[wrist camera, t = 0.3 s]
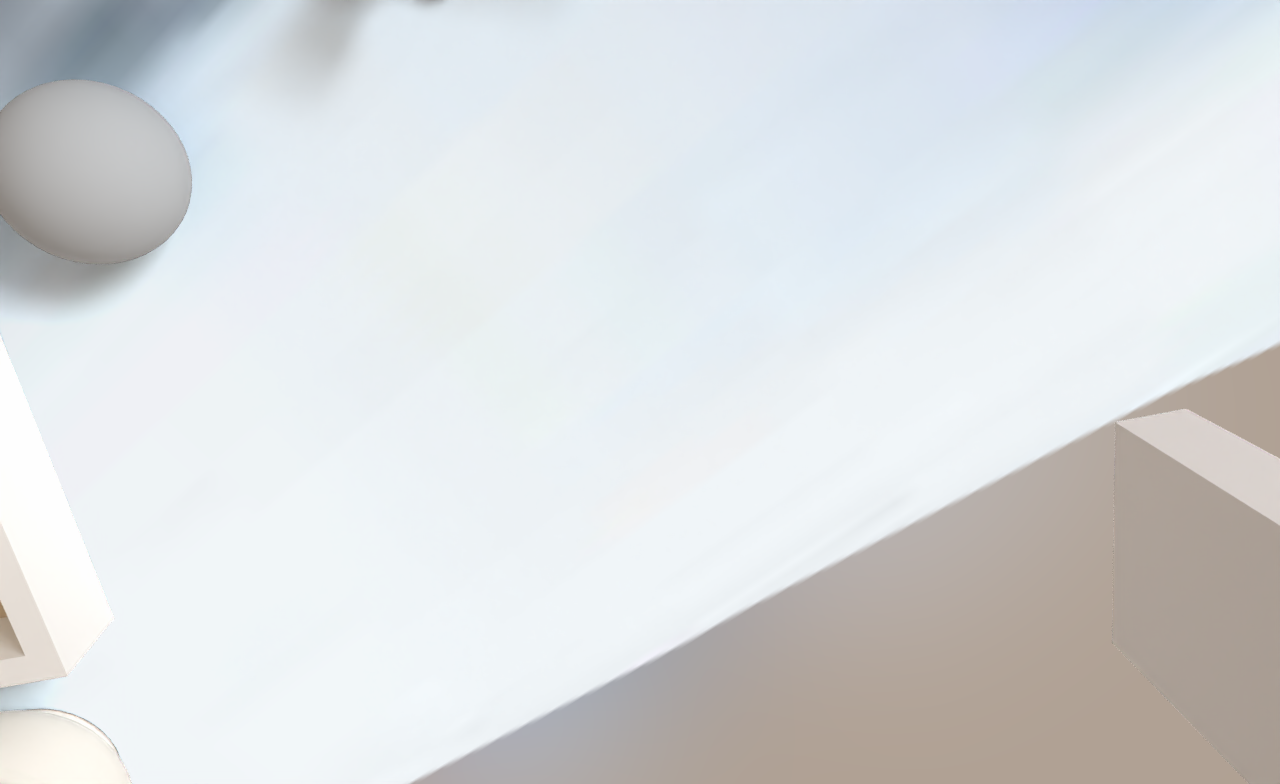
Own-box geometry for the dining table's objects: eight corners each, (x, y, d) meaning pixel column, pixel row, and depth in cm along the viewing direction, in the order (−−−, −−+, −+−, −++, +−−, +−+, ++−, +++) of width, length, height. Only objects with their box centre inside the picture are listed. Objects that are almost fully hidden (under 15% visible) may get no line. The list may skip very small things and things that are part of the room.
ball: (18, 92, 32) (-96, 97, 27) (187, 66, 33) (110, 65, 27) (78, 258, 34) (-16, 295, 29) (237, 233, 35) (175, 264, 29)
